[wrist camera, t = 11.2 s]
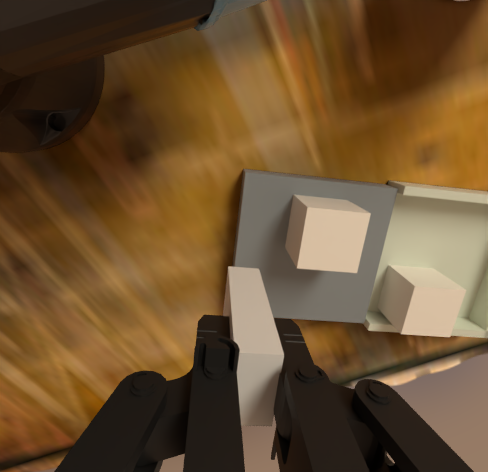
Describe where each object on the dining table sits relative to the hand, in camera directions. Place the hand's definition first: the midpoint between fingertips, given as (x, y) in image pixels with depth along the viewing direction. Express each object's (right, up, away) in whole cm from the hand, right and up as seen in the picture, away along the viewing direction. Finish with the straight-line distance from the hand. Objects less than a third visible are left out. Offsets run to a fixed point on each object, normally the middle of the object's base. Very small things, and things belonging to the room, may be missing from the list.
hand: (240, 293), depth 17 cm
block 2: (+17, -3, +20) cm, 26 cm away
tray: (+20, +1, +19) cm, 28 cm away
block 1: (+7, +4, +15) cm, 17 cm away
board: (+6, +2, +18) cm, 19 cm away
